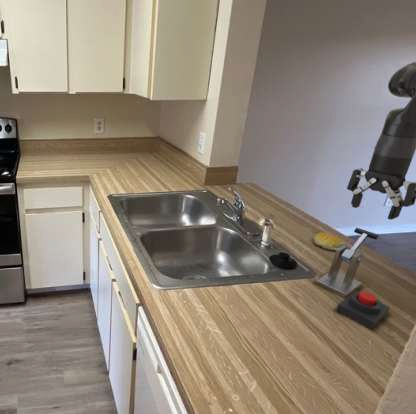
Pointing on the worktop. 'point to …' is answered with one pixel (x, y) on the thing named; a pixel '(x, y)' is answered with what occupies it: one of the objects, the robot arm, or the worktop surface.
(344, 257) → the press lever
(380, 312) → the button block
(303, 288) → the worktop surface
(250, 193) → the worktop surface
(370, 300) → the button
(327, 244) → the bread roll
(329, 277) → the lever bracket
